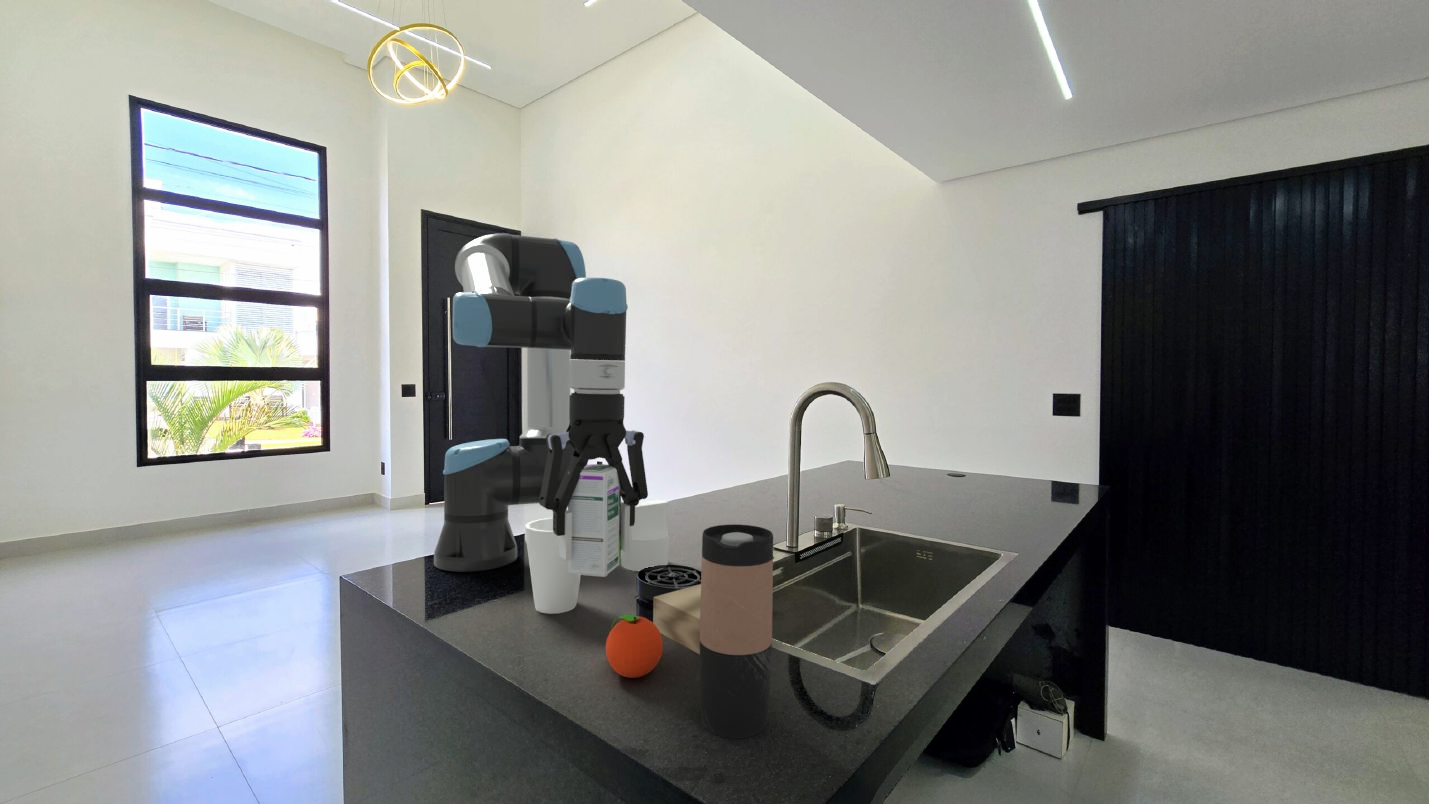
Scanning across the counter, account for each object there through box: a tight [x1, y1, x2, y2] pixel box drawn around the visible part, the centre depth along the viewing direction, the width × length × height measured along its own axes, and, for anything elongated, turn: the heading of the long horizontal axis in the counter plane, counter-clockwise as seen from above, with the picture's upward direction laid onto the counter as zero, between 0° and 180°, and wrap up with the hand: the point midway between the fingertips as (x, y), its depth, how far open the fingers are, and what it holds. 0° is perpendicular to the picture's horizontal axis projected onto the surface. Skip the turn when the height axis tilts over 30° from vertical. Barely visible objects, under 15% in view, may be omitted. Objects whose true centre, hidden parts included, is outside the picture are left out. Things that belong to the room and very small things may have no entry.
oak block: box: [652, 583, 701, 655], centre depth 87 cm, size 11×11×5 cm
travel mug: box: [699, 523, 774, 739], centre depth 64 cm, size 8×8×20 cm
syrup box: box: [567, 463, 622, 578], centre depth 85 cm, size 6×6×14 cm
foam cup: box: [524, 517, 582, 615], centre depth 95 cm, size 10×9×13 cm
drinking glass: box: [621, 499, 670, 570], centre depth 118 cm, size 9×9×12 cm
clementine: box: [605, 614, 664, 679], centre depth 74 cm, size 8×7×7 cm
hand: (594, 552), depth 85 cm, fingers closed on syrup box, 8 cm apart
